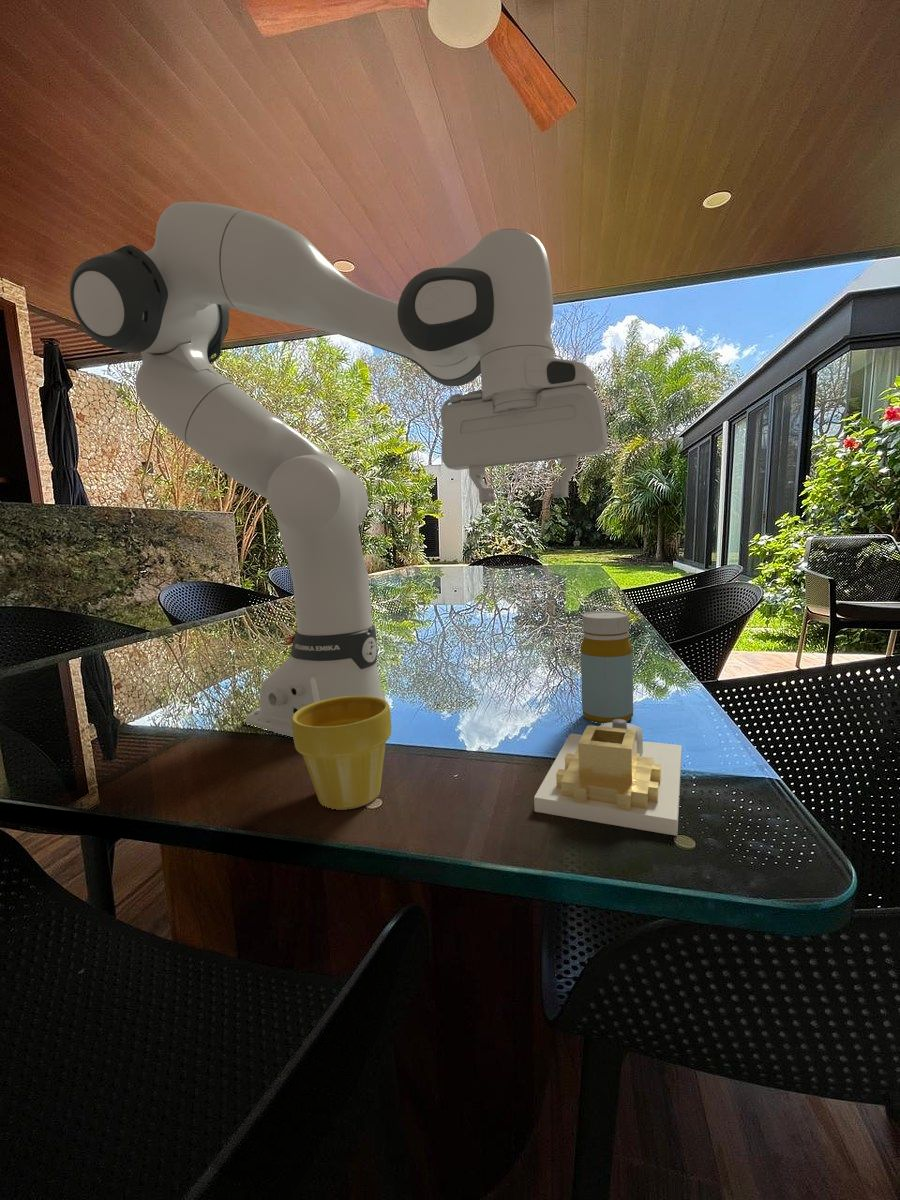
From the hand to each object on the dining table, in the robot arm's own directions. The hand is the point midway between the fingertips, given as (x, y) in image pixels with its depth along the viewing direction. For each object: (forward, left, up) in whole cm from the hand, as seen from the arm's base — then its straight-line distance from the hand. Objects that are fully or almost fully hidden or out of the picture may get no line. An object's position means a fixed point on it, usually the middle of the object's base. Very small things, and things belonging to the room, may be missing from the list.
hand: (523, 500), depth 66 cm
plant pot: (-15, -20, -31) cm, 40 cm away
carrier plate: (+11, -8, -31) cm, 34 cm away
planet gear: (+11, -12, -30) cm, 34 cm away
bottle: (+8, +11, -31) cm, 34 cm away
